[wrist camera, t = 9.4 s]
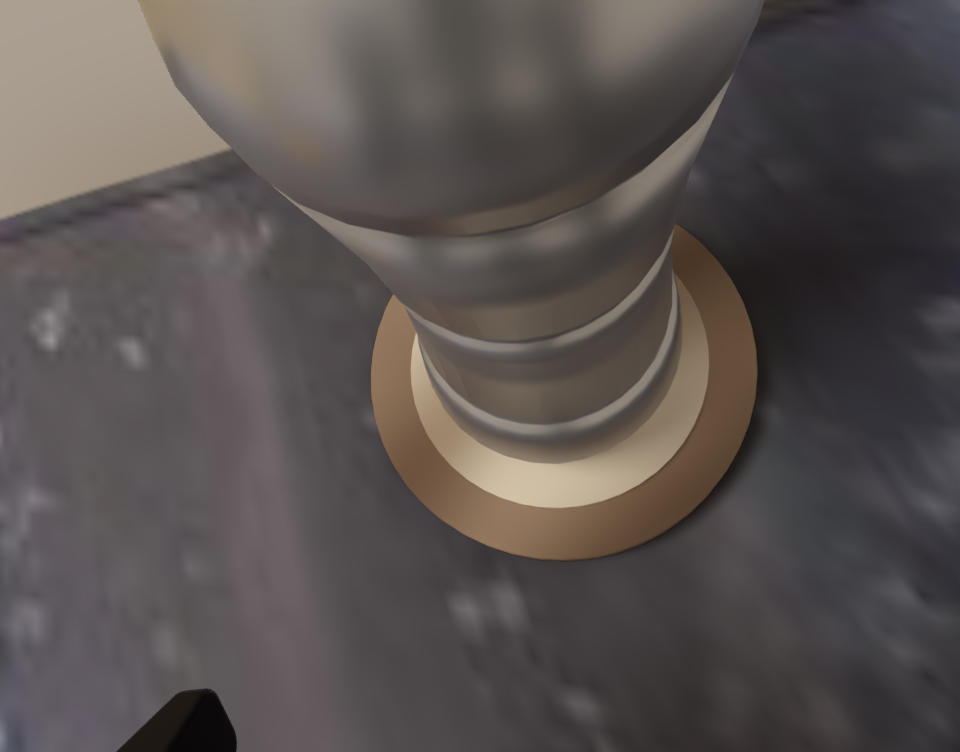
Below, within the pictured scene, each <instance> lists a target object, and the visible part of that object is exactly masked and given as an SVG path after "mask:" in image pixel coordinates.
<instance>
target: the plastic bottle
mask: <svg viewBox="0 0 960 752" xmlns="http://www.w3.org/2000/svg"><path fill="white" fill-rule="evenodd" d="M138 2H139V5H140V7H141V10H142V12H143V15H144V17H145V20H146V22H147V25H148V27H149V29H150V32H151V35H152V37H153V40H154V42H155V44H156V46H157V48H158V51H159V52H160V55H161V57H162V59H163V61H164V63H165V65H166V67H167V70H168V72H169V74H170V76H171V78H172V80H173V82H174V84H175V86H176V88H177V89H178V90H179V91H180V92H181V93H182V95H183V96H184V97H185V98H186V99H187V100H188V102H189V103H190V104H191V105H192V106H193V108H194V109H195V110H196V111H197V112H198V114H199V115H200V116H201V117H202V118H203V119H204V121H205V122H206V123H207V124H208V125H209V127H210V128H212V129H213V130H214V131H215V132H216V133H217V134H218V135H219V136H220V137H221V138H222V139H223V140H224V141H225V142H226V143H227V144H228V145H229V146H230V147H231V148H232V149H233V150H234V151H235V152H236V153H237V154H238V155H239V156H240V157H241V158H242V159H243V160H244V161H245V162H246V164H247V165H248V166H249V167H250V168H251V169H252V170H253V171H254V172H255V173H256V174H258V175H259V176H260V177H262V178H263V179H264V180H266V181H267V182H269V183H270V184H271V185H272V186H273V187H274V188H276V189H277V190H278V191H279V192H280V193H282V194H283V195H284V196H285V197H286V198H288V199H289V200H290V201H291V202H293V203H294V204H295V205H296V206H297V207H299V208H300V209H301V210H302V211H304V212H305V213H306V214H307V215H308V216H310V217H311V218H312V219H313V220H315V221H316V222H317V223H318V224H319V225H321V226H322V227H323V228H324V229H326V230H327V231H328V232H329V233H330V234H332V235H333V236H334V237H335V238H336V239H338V240H339V241H340V242H341V243H343V244H344V245H345V246H346V247H347V248H349V249H350V250H351V251H352V252H354V253H355V254H356V255H357V256H358V257H360V258H361V259H362V260H363V261H365V262H366V263H367V264H368V265H369V266H370V267H371V269H372V270H373V271H374V272H375V273H376V274H377V276H378V277H379V278H380V279H381V280H382V281H383V283H384V284H385V285H386V286H387V287H388V288H389V289H390V291H391V292H392V293H393V294H394V295H395V296H396V298H397V299H398V300H399V301H400V302H401V303H402V304H403V306H404V307H405V309H406V311H407V313H408V316H409V318H410V320H411V322H412V324H413V326H414V328H415V330H416V333H417V336H418V344H419V348H420V351H421V355H422V358H423V361H424V365H425V368H426V371H427V374H428V377H429V379H430V382H431V385H432V388H433V389H434V391H435V393H436V395H437V397H438V399H439V401H440V402H441V404H442V406H443V408H444V410H445V411H446V412H447V413H448V414H449V416H450V417H451V418H452V419H453V420H454V421H455V423H456V424H457V425H458V426H459V427H460V428H461V429H462V430H463V431H464V432H466V433H467V434H468V435H469V436H471V437H472V438H473V439H475V440H476V441H477V442H478V443H480V444H481V445H483V446H485V447H487V448H489V449H491V450H493V451H495V452H497V453H500V454H502V455H504V456H507V457H511V458H515V459H519V460H523V461H527V462H532V463H543V464H565V463H571V462H578V461H583V460H586V459H589V458H592V457H594V456H597V455H600V454H602V453H605V452H607V451H608V450H610V449H611V448H613V447H615V446H616V445H618V444H620V443H621V442H623V441H624V440H626V439H627V438H629V437H630V436H632V435H633V434H634V433H635V432H636V431H637V430H638V429H639V428H640V427H641V426H642V425H643V424H644V423H645V422H647V421H648V420H649V419H650V418H651V417H652V415H653V414H654V412H655V411H656V410H657V408H658V407H659V405H660V404H661V403H662V401H663V400H664V398H665V397H666V395H667V393H668V391H669V389H670V386H671V384H672V382H673V379H674V377H675V375H676V373H677V369H678V364H679V360H680V355H681V350H682V312H681V303H680V297H679V292H678V287H677V283H676V278H675V274H674V271H673V268H672V236H673V232H674V227H675V225H676V222H677V218H678V214H679V210H680V207H681V203H682V199H683V195H684V191H685V188H686V184H687V180H688V176H689V172H690V170H691V168H692V165H693V163H694V161H695V159H696V157H697V154H698V152H699V150H700V148H701V145H702V143H703V141H704V139H705V136H706V134H707V132H708V130H709V127H710V125H711V123H712V121H713V118H714V116H715V114H716V112H717V109H718V107H719V105H720V103H721V101H722V98H723V96H724V94H725V92H726V89H727V87H728V85H729V83H730V80H731V78H732V76H733V74H734V72H735V69H736V67H737V65H738V63H739V61H740V59H741V56H742V54H743V52H744V50H745V48H746V46H747V43H748V41H749V39H750V37H751V35H752V33H753V30H754V28H755V26H756V24H757V22H758V19H759V16H760V13H761V10H762V6H763V3H764V0H138Z"/></svg>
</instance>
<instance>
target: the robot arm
mask: <svg viewBox="0 0 960 752" xmlns="http://www.w3.org/2000/svg"><path fill="white" fill-rule="evenodd" d="M236 749H237V740H236V734H235V731H234V728H233V726H232V724H231V722H230V720H229V718H228V716H227V714H226V712H225V710H224V708H223V706H222V704H221V702H220V700H219V698H218V696H217V694H216V693H215V692H214V691H213V690H211V689H207V688H206V689H197V690H187V691H182V692H180V693H178V694H176V695H175V696H174V697H173V698H172V699H171V700H170V701H168V702H167V703H166V704H165V705H164V706H163V707H162V708H161V709H160V710H159V711H158V712H157V713H156V714H155V715H154V716H153V717H152V718H151V719H150V720H149V721H148V722H147V723H146V724H145V725H143V726H142V727H141V728H140V729H139V730H138V731H137V732H136V733H135V734H134V735H133V736H132V737H131V738H130V739H129V740H128V741H127V742H126V743H125V744H124V745H123V746H122V747H121V748H120V749H118V750H117V751H116V752H236Z"/></svg>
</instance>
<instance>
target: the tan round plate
mask: <svg viewBox="0 0 960 752" xmlns="http://www.w3.org/2000/svg"><path fill="white" fill-rule="evenodd" d="M672 268H673V271H674V274H675V278H676V283H677V287H678V292H679V297H680V303H681V312H682V350H681V355H680V360H679V364H678V369H677V373H676V375H675V377H674V379H673V382H672V384H671V386H670V389H669V391H668V393H667V395H666V397H665V398H664V400H663V401H662V403H661V404H660V405H659V407H658V408H657V410H656V411H655V412H654V414H653V415H652V417H651V418H650V419H649V420H648V421H647V422H645V423H644V424H643V425H642V426H641V427H640V428H639V429H638V430H637V431H636V432H635V433H634V434H633V435H632V436H630V437H629V438H627V439H626V440H624V441H623V442H621V443H620V444H618V445H616V446H615V447H613V448H611V449H610V450H608V451H607V452H605V453H602V454H600V455H597V456H594V457H592V458H589V459H586V460H583V461H578V462H571V463H565V464H543V463H532V462H527V461H523V460H519V459H515V458H511V457H507V456H504V455H502V454H500V453H497V452H495V451H493V450H491V449H489V448H487V447H485V446H483V445H481V444H480V443H478V442H477V441H476V440H475V439H473V438H472V437H471V436H469V435H468V434H467V433H466V432H464V431H463V430H462V429H461V428H460V427H459V426H458V425H457V424H456V423H455V421H454V420H453V419H452V418H451V417H450V416H449V414H448V413H447V412H446V411H445V410H444V408H443V406H442V404H441V402H440V401H439V399H438V397H437V395H436V393H435V391H434V389H433V388H432V385H431V382H430V379H429V377H428V374H427V371H426V368H425V365H424V361H423V358H422V355H421V351H420V348H419V344H418V336H417V333H416V330H415V328H414V326H413V324H412V322H411V320H410V318H409V316H408V313H407V311H406V309H405V307H404V306H403V304H402V303H401V302H400V301H399V300H398V299H397V298H396V296H395V295H394V294H393V296H392V298H391V300H390V302H389V303H388V305H387V307H386V310H385V313H384V315H383V318H382V321H381V323H380V326H379V329H378V333H377V337H376V341H375V346H374V350H373V359H372V368H371V392H372V402H373V408H374V414H375V420H376V423H377V426H378V429H379V433H380V436H381V439H382V442H383V444H384V446H385V449H386V451H387V453H388V455H389V457H390V459H391V461H392V464H393V465H394V467H395V468H396V470H397V471H398V473H399V474H400V476H401V477H402V479H403V481H404V482H405V484H406V485H407V486H408V487H409V488H410V489H411V491H412V492H413V493H414V494H415V495H416V496H417V498H418V499H419V500H420V501H421V502H422V503H423V504H424V505H425V506H426V507H427V508H429V509H430V510H431V511H432V512H433V513H434V514H435V515H437V516H438V517H439V518H440V519H441V520H443V521H444V522H446V523H447V524H449V525H450V526H452V527H453V528H455V529H456V530H458V531H459V532H461V533H463V534H464V535H466V536H468V537H470V538H472V539H474V540H476V541H478V542H480V543H482V544H485V545H487V546H489V547H491V548H493V549H496V550H499V551H502V552H506V553H509V554H512V555H515V556H519V557H525V558H530V559H536V560H542V561H564V562H568V561H580V560H591V559H596V558H601V557H605V556H610V555H614V554H618V553H621V552H624V551H626V550H629V549H632V548H634V547H637V546H640V545H642V544H644V543H646V542H648V541H650V540H652V539H654V538H655V537H657V536H659V535H661V534H663V533H665V532H666V531H668V530H669V529H670V528H672V527H673V526H675V525H676V524H677V523H679V522H680V521H681V520H683V519H684V518H686V517H687V516H688V515H689V514H690V513H691V512H692V511H693V510H694V509H695V508H696V507H697V506H698V505H699V504H700V503H701V502H702V501H703V500H704V499H705V498H706V497H707V496H708V494H709V493H710V492H711V491H712V489H713V488H714V487H715V485H716V484H717V483H718V482H719V480H720V479H721V478H722V476H723V475H724V474H725V472H726V471H727V469H728V468H729V466H730V464H731V462H732V461H733V459H734V457H735V455H736V454H737V452H738V450H739V448H740V446H741V444H742V441H743V439H744V436H745V434H746V431H747V428H748V426H749V423H750V419H751V415H752V411H753V406H754V402H755V396H756V385H757V374H758V373H757V356H756V346H755V341H754V336H753V331H752V326H751V323H750V320H749V317H748V314H747V311H746V309H745V306H744V303H743V301H742V299H741V297H740V295H739V293H738V291H737V289H736V287H735V285H734V284H733V282H732V280H731V278H730V277H729V276H728V274H727V273H726V271H725V270H724V269H723V267H722V266H721V264H720V263H719V262H718V260H717V259H716V258H715V257H714V256H713V255H712V254H711V253H710V252H709V251H708V250H707V249H706V248H705V247H704V245H703V244H702V243H701V242H699V241H698V240H697V239H696V238H694V237H693V236H692V235H691V234H689V233H688V232H687V231H686V230H685V229H683V228H682V227H680V226H679V225H677V224H676V225H675V227H674V232H673V236H672Z"/></svg>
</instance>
